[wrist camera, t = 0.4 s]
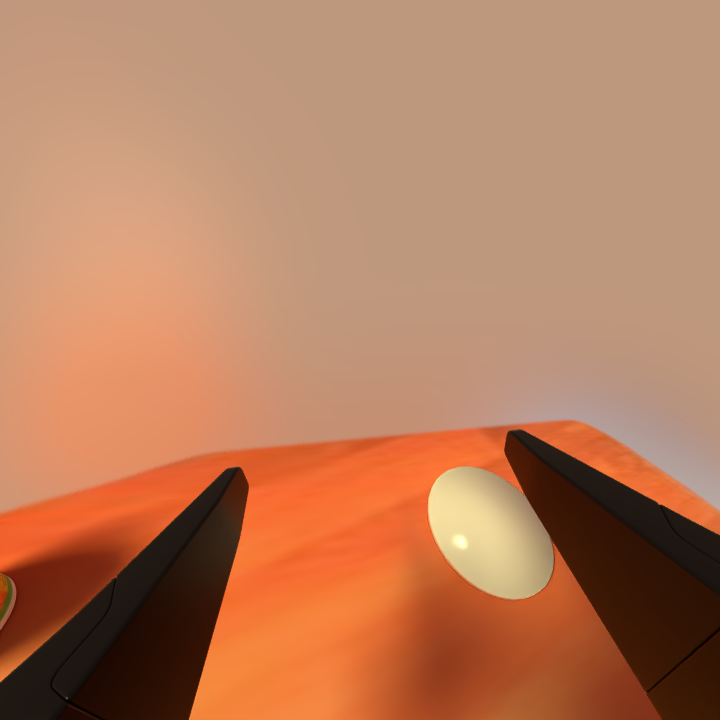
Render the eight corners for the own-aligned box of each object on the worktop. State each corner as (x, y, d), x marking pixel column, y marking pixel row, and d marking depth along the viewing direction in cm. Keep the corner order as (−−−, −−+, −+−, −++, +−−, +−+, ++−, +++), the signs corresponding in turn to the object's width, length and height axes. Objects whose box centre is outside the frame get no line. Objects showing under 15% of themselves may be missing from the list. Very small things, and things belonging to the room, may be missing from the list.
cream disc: (580, 588, 20) (584, 586, 20) (456, 612, 18) (459, 610, 18) (503, 466, 28) (506, 462, 27) (412, 474, 26) (413, 470, 26)
